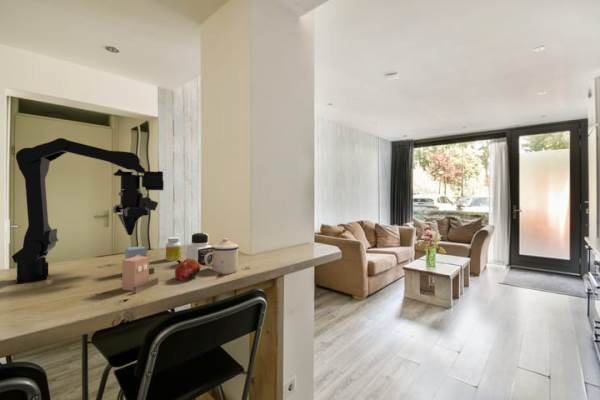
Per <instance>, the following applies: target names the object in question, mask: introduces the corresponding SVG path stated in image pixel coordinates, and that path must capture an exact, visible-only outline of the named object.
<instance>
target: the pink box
mask: <svg viewBox="0 0 600 400" xmlns="http://www.w3.org/2000/svg"><path fill="white" fill-rule="evenodd" d="M121 263H122V265H121V266H122V270H121V272H122V274H121V275H122V278H121V279H122V280H121V290H123V291H124V290H125V291H132V292H133V289H134V286H137V285H139V284H141V283H144V282H146V281H149V280H150V278H149V277H150V274H149V268H150V257H149V256H146V257H142V256H135V257H132V258H128V259H126V258H125V259H122V261H121Z"/></svg>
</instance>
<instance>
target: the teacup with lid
mask: <svg viewBox="0 0 600 400" xmlns="http://www.w3.org/2000/svg"><path fill="white" fill-rule="evenodd" d="M211 246H212V249H213V252H209V253H207V254H206V255H205V257H204V261H205V264H206V265H207V267H211V268H212V272H217V273H220V275H230V274H233V273H236V272H237V271H238V259H239V258H238V256H239V254H238V250H239V249H238V248H239V245H238V244H237V243H234V242H232V241H231V240H229V238H227V237H223V238H222V240H221V241H219V242H218V243H215V244H213V245H211ZM211 254H213V257H212V264H208V262H207V257H208V256H209V255H211Z"/></svg>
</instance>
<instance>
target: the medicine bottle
mask: <svg viewBox="0 0 600 400" xmlns="http://www.w3.org/2000/svg"><path fill="white" fill-rule="evenodd" d="M212 246H213V245H211V244H209V234H208V233H206V232H195V233H193V234H192V235H191V245H188V246H186V249H185V250H186V254H185V255H186V259H194V260H196V261H197V262H198V263H199V264H200V265H201V267H206V266H207V265H206V264H205V261H204V257H205V255H206V254H207V253H209V252H213V249H212ZM212 257H213V254H211V255H209V256H208V257H207V262H208V264H212ZM186 259H185V260H186ZM207 267H208V266H207Z"/></svg>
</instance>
